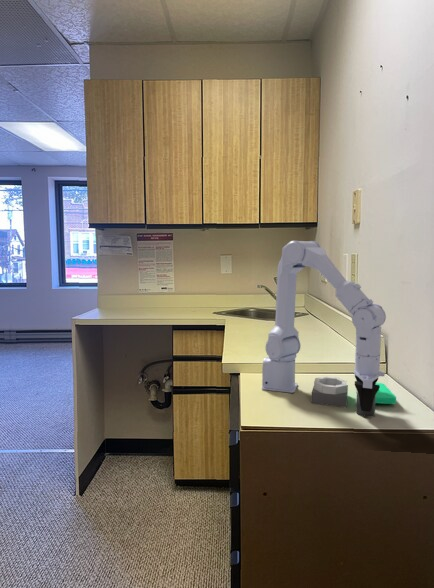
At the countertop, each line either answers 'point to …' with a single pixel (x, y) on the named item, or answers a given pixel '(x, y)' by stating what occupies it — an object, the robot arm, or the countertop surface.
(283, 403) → the countertop surface
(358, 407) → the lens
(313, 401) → the square octagon-collar plate
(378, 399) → the camera mount
